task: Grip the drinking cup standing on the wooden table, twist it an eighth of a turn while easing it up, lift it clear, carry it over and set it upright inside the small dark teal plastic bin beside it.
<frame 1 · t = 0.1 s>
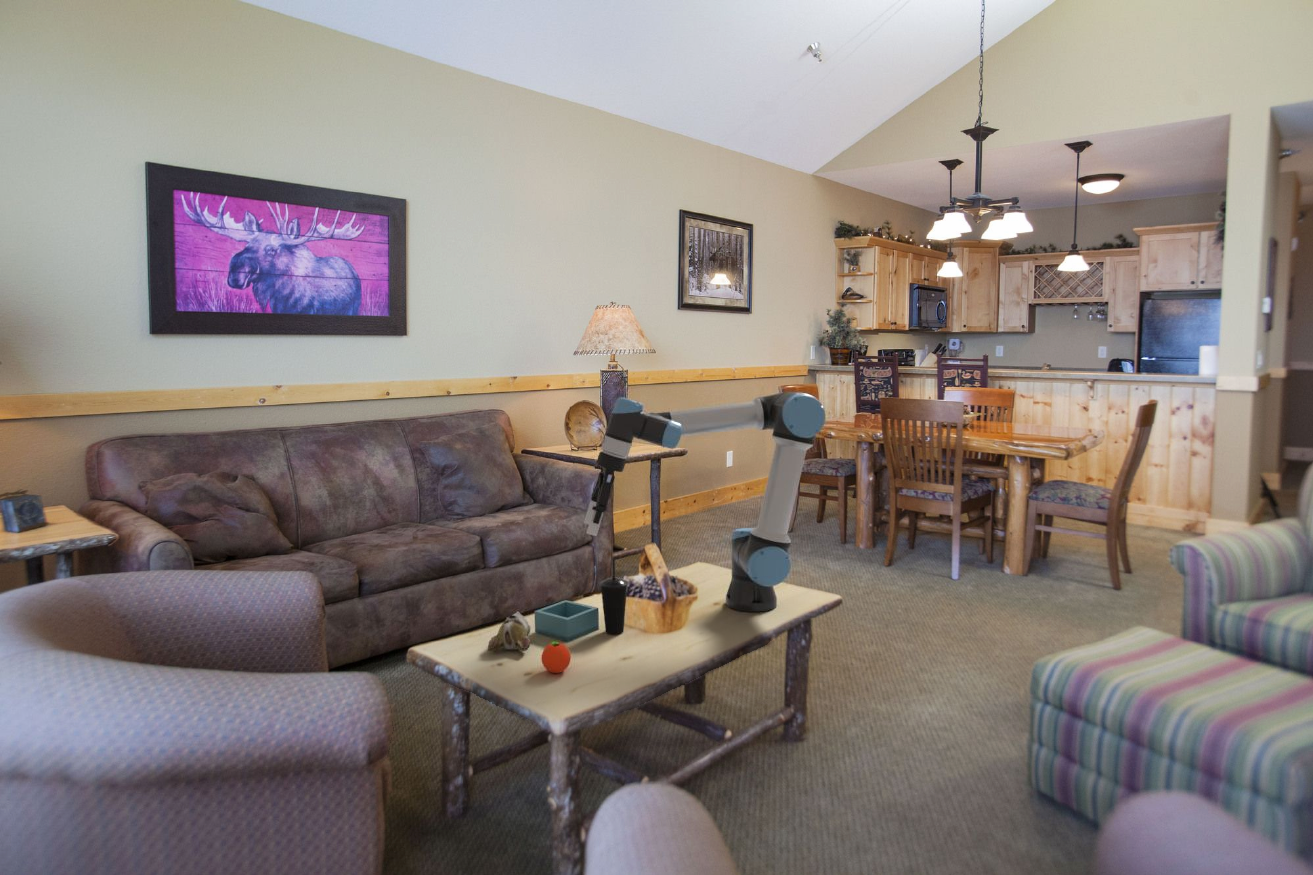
hand: (589, 529, 218), 28 cm above the table, fingers open, 13 cm apart
ceramic sculpture: (512, 648, 208), on the table
teal bin: (567, 630, 220), on the table
drinking cup: (614, 632, 219), on the table
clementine: (555, 671, 192), on the table
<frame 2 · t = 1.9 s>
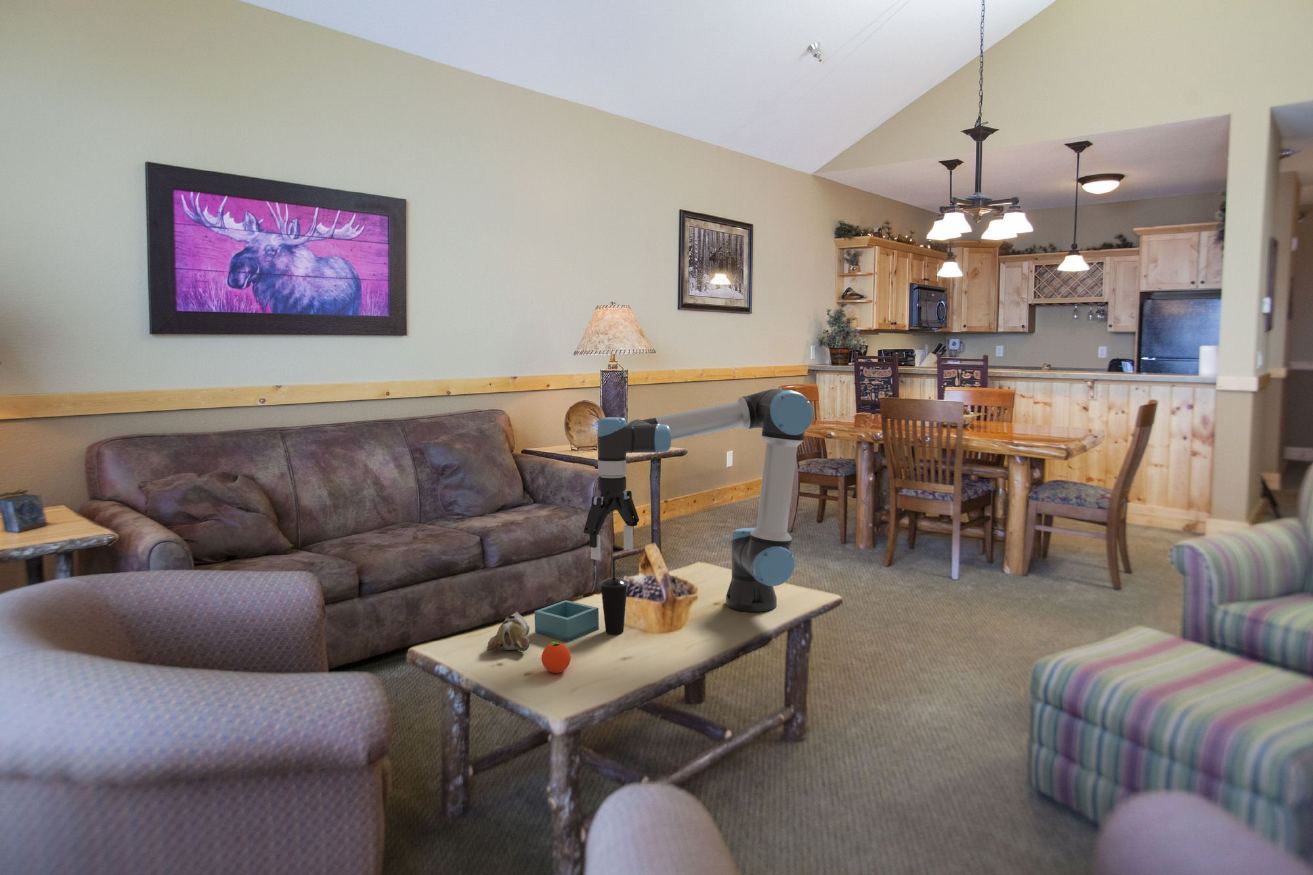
hand: (612, 554, 216), 21 cm above the table, fingers open, 13 cm apart
nothing on the table moved.
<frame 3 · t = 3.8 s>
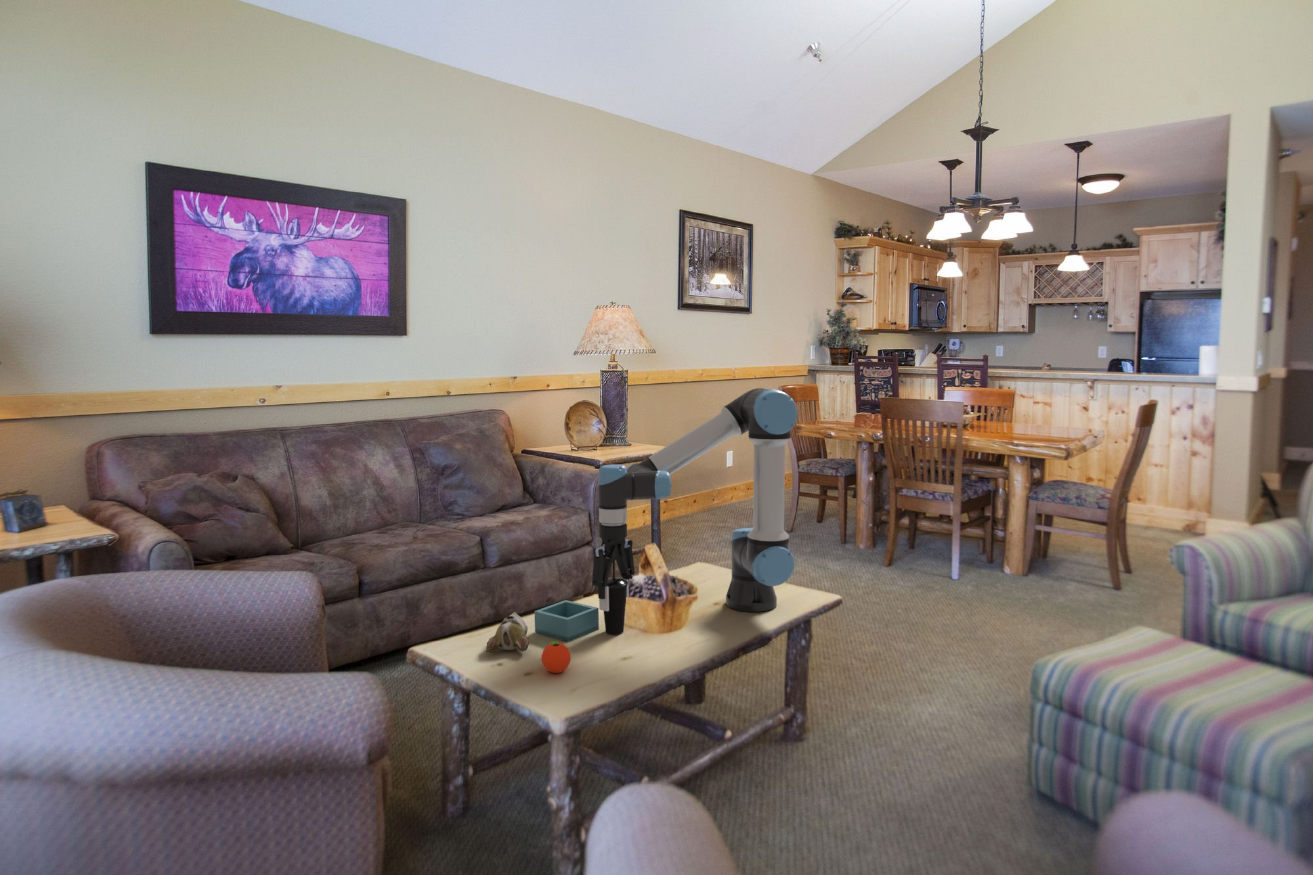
hand: (614, 605, 218), 7 cm above the table, fingers closed on drinking cup, 8 cm apart
drinking cup: (614, 632, 219), on the table, touching gripper
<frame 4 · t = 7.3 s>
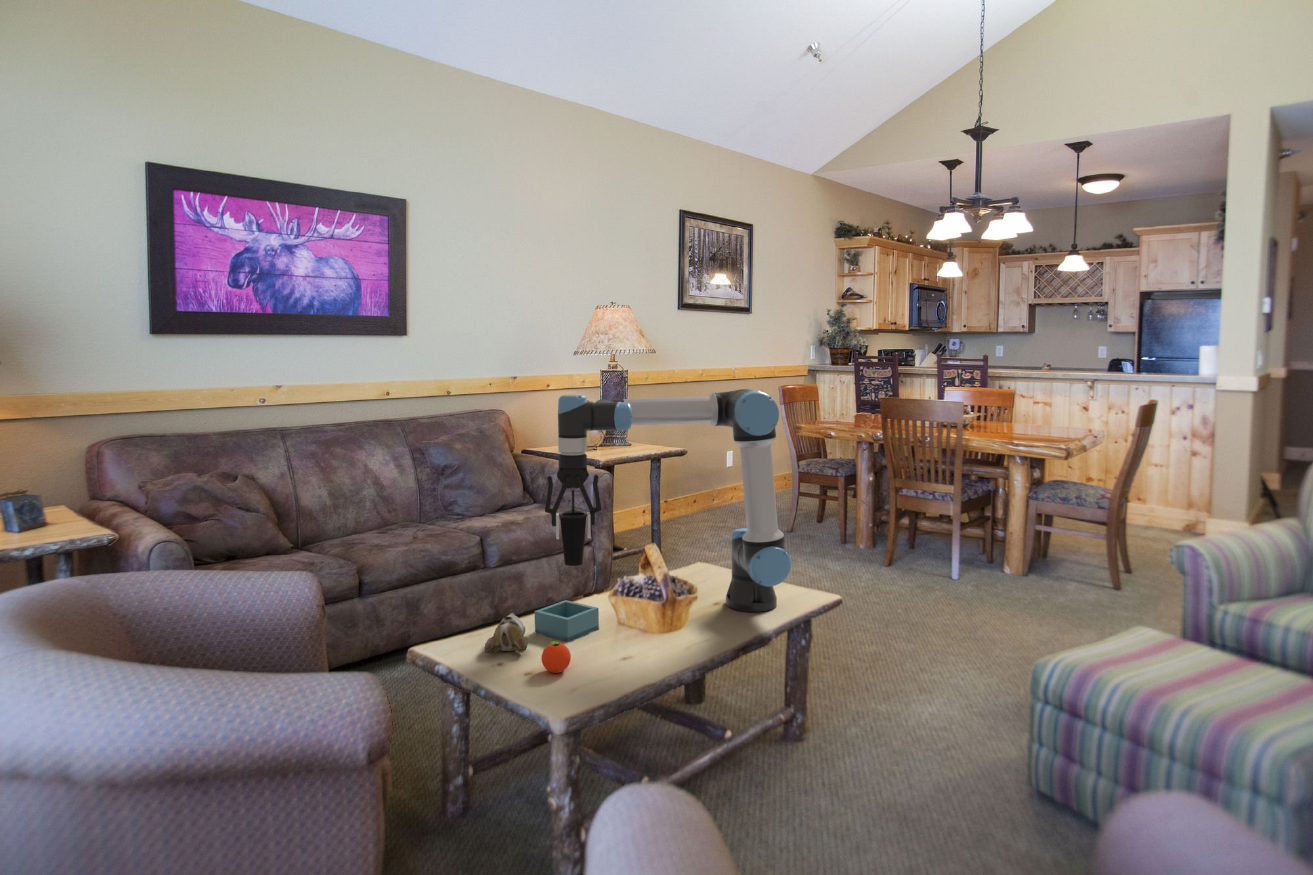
hand: (573, 537, 217), 26 cm above the table, fingers closed on drinking cup, 8 cm apart
drinking cup: (573, 564, 217), point 19 cm above the table, touching gripper
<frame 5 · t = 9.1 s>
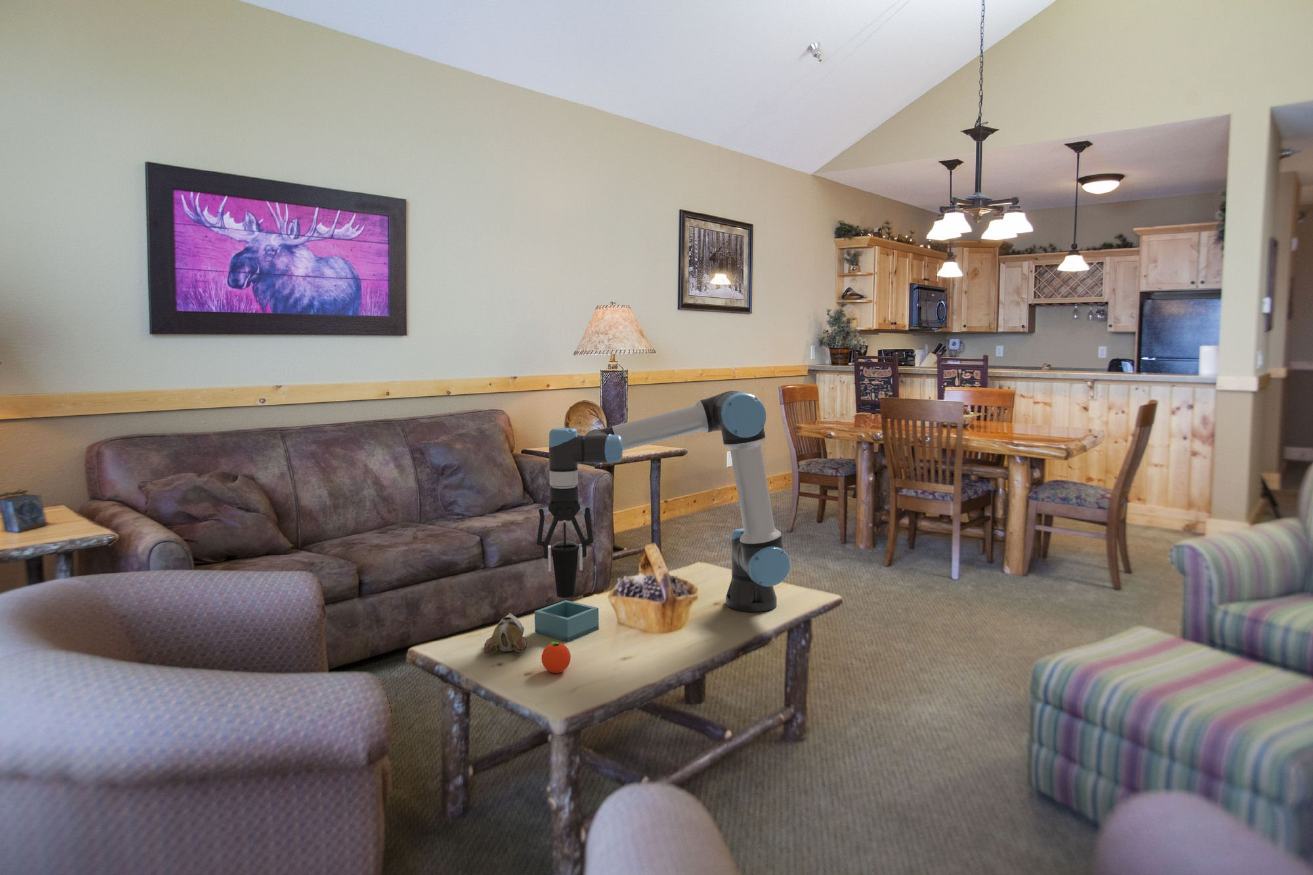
hand: (565, 569, 218), 17 cm above the table, fingers closed on drinking cup, 8 cm apart
drinking cup: (565, 596, 218), point 10 cm above the table, touching gripper
when the fingers open (10 cm above the table, at t = 10.9 s): drinking cup drops 1 cm, resting on teal bin.
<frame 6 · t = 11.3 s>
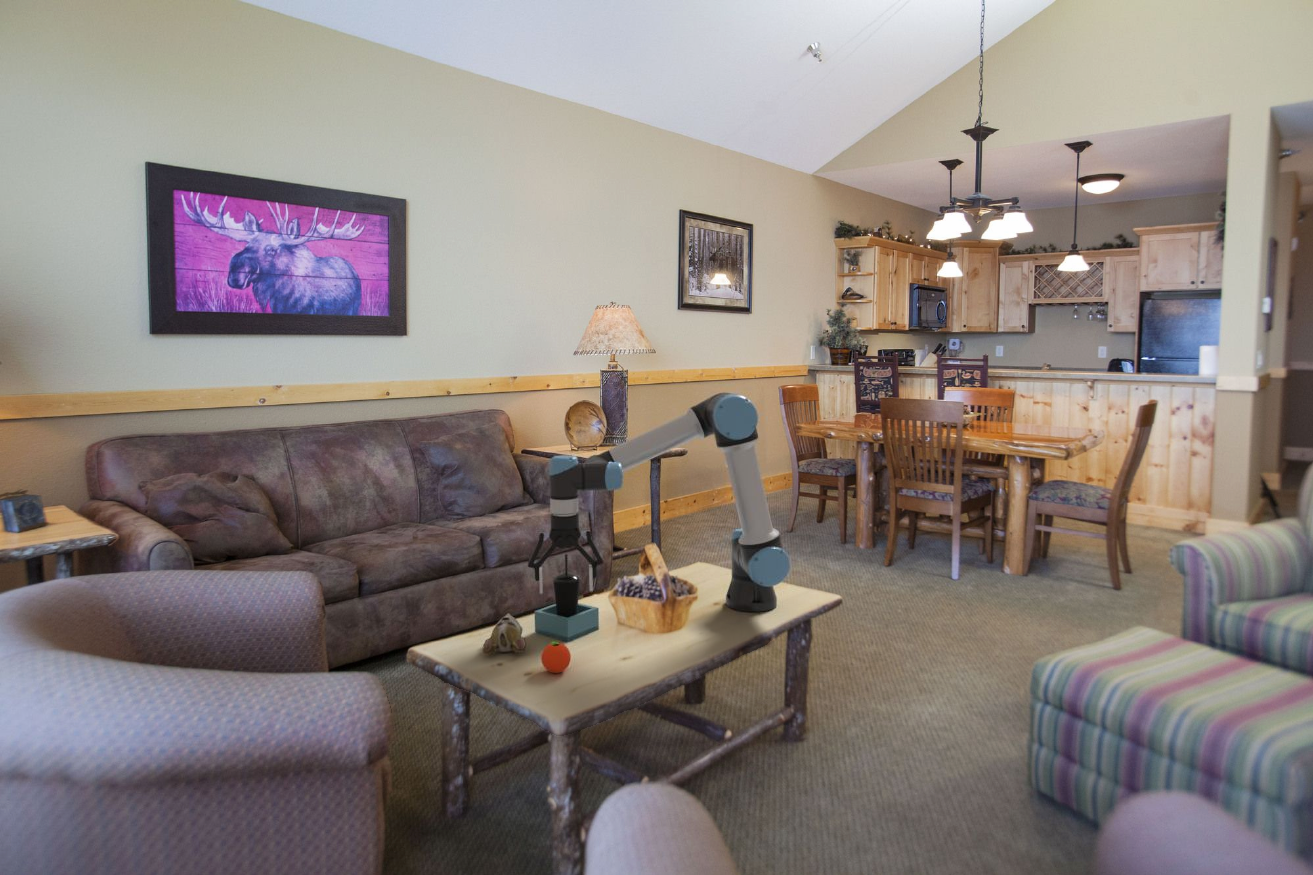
hand: (566, 591, 218), 11 cm above the table, fingers open, 13 cm apart
drinking cup: (567, 627, 219), point 1 cm above the table, touching teal bin
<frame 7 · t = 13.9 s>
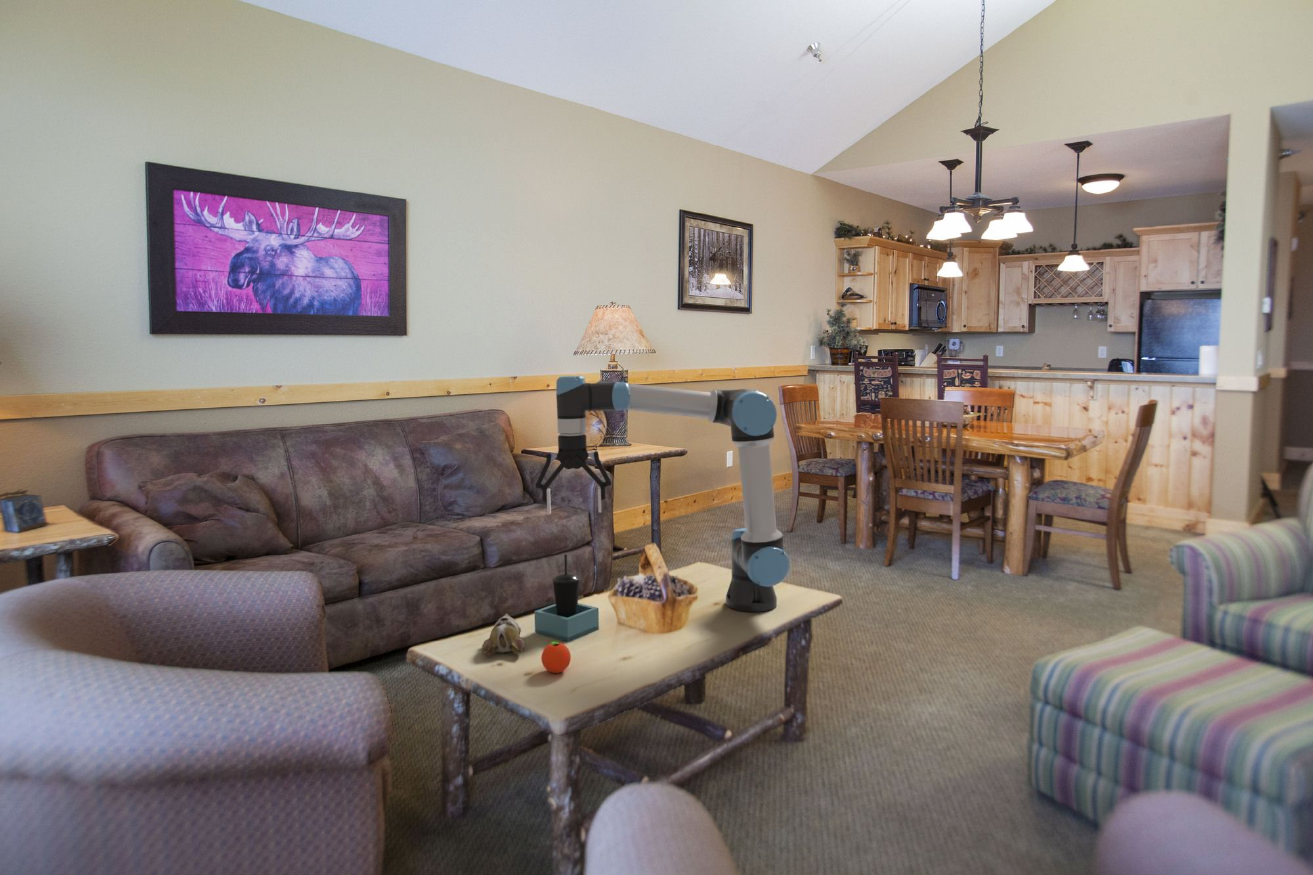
hand: (574, 512, 217), 32 cm above the table, fingers open, 13 cm apart
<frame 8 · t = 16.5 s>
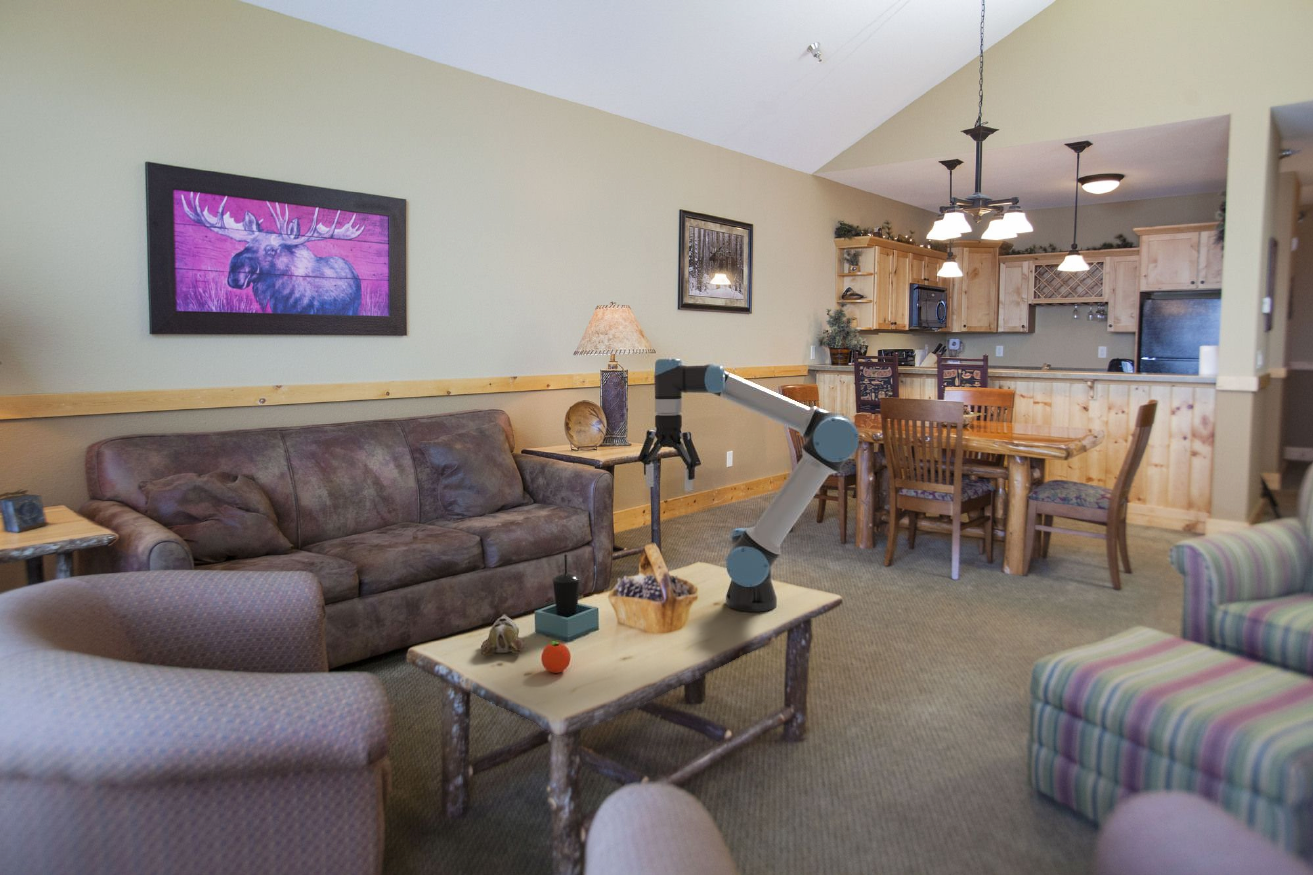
hand: (668, 489, 228), 37 cm above the table, fingers open, 13 cm apart
at the end: drinking cup inside the target area on the teal bin (0.0 cm from its centre), point 1.0 cm above the teal bin's base; drinking cup tilted 0°; the gripper is holding nothing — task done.
